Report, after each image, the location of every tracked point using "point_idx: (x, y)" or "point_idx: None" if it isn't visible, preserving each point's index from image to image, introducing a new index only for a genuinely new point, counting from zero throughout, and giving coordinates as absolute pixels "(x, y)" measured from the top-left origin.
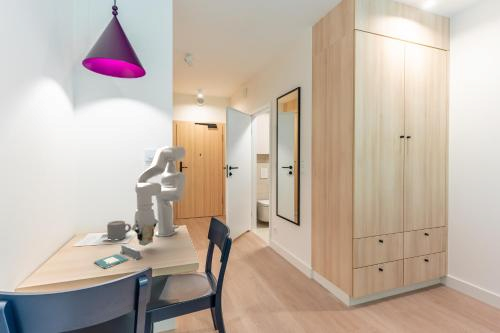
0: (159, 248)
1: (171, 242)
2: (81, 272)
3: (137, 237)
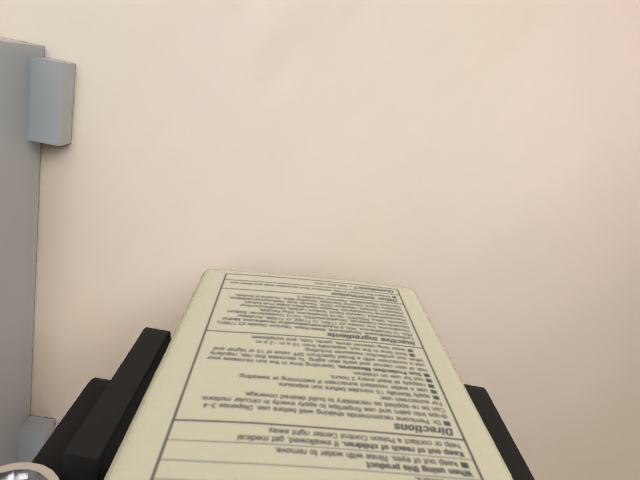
0: None
1: (628, 437)
2: None
3: (81, 399)
